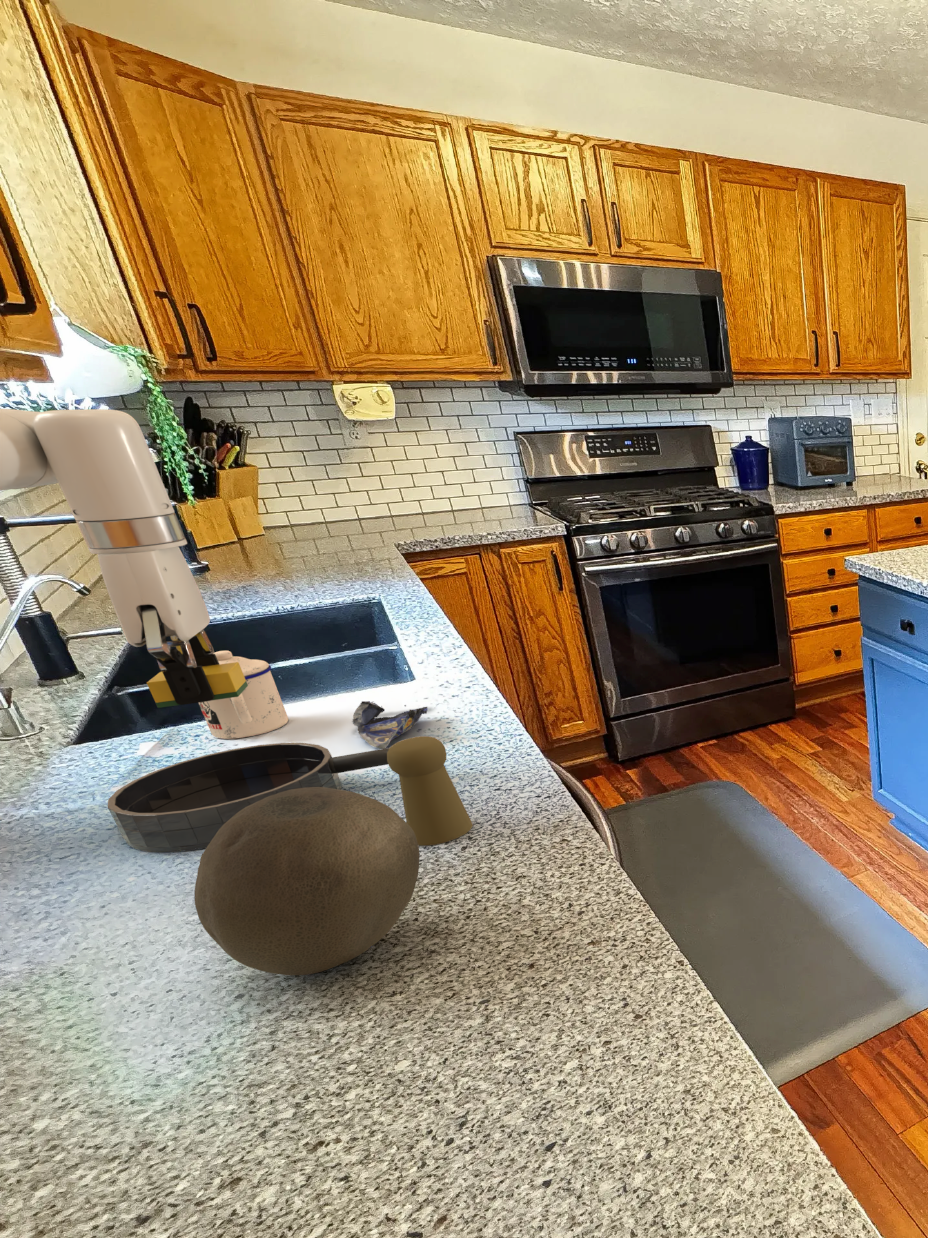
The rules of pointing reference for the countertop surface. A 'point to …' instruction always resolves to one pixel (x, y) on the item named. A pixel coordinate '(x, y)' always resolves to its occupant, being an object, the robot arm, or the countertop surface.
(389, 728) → the snack package
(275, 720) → the teacup with lid
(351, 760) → the pan handle
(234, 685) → the sponge
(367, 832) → the cantaloupe
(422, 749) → the cork
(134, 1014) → the countertop surface
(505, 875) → the countertop surface
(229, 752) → the pan
